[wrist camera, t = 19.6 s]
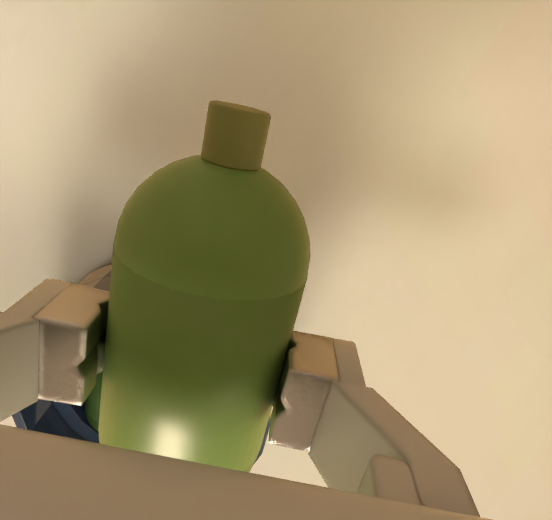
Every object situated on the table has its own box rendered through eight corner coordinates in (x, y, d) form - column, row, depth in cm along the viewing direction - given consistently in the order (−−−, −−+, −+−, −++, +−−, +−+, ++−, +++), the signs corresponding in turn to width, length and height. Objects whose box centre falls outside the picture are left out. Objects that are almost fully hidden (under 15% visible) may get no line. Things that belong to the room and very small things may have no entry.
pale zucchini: (164, 82, 9) (83, 81, 6) (336, 123, 9) (360, 145, 6) (127, 410, 13) (62, 536, 9) (254, 437, 13) (238, 569, 9)
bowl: (62, 230, 28) (4, 267, 22) (296, 281, 28) (296, 329, 23) (55, 415, 33) (7, 482, 28) (250, 454, 34) (242, 526, 28)
